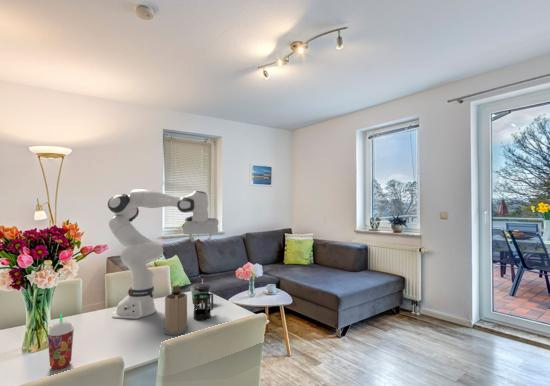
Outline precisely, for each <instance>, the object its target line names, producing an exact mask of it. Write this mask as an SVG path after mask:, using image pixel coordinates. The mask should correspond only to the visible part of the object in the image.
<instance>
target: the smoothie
mask: <svg viewBox="0 0 550 386" xmlns="http://www.w3.org/2000/svg"><path fill="white" fill-rule="evenodd" d="M59 315H60V316H59V317H60V318H59V320H58V321H56V322H54V323H53V324H52V326H50V328H49V330H48V332H47V342H48V343H47V344H48V356H49V358H48V359H49V366H50V367H51V369H52V370H61V368H62V369H64V368H67V367H69V365H70V362H71V361H72V355H73V343H74V342H73V341H74V340H73V339H74V329H75V328H74V326H73V325H72V323H71V322H70V321H69V320H65V319H63V313H60V314H59Z"/></svg>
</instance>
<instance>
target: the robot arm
mask: <svg viewBox="0 0 550 386" xmlns="http://www.w3.org/2000/svg"><path fill="white" fill-rule="evenodd" d="M107 207H108V209H109V211H110V212H112V213H113V214H114V216H113V217H112V218H110V220H109V221H108V227H109V229H110V231H111V233H112V234H113V236H115V238H116V239H117V241H118V242H119V243H120V244H121V245H122V246H123V247H124V248H123V249H122V251H121V252H120V260H121V262H122V263H123V265H125V266H126V267H127V268H128V270H129V271H130V275H131V287H129V289H128V291H127V294H128V295H126V296H125V297H124V298H123V299H121V300H120V301H119V302H118V304H117V306H116V310H114V311H113V312H112V313H111V318H113V319H132V320H133V319H140V318H143V317H147V316H151V315H152V314H154V313H156V312H157V309H156V305H155V300H154V296H155V286H154V273H153V271H152V270H151V269H148V267H147V263H149V262H153V261H156V260H158V259H160V258H161V257H162V256H163V253H164V247H163V246H162V244H161V243H160V242H157V241H154V240H152V239H150V238H148V237H146V236H145V235H143V234H142V233H140V231H139V230H138V229H137V228H136V227H135V226H134V225H133V223H132V222H133V220H135V219H136V218H137V217H138V216H139V213H140V210H139V207H140V208H147V209H158V208H166V207H175V208H177V209H178V211H180V212H181V213H184V214H185V213H192V215H190V216H188V217H185V219H184V221H185V222H184V224H183V225H182V226H183V228H182V233H183V234H184V235H189V238H190V241H191V242H192V243H194V242H195V238H193V235H206V234H207V235H209V237H208V238H206V239H207V242H211V237H212V236H213V235H214V234H218V233H219V227H218V225H219V220H218V219H217V218H215V217H209V210H208V209H209V195H208V194H207V192H205V191H200V190H194V191H193V192H192V193H190V194H188V195H186V196H183V197H179V196H172V195H169V194H165V193H162V192H160V191H156V190H153V189H152V190H151V189H145V188H137V189H133V190H131V191H130V193H129V194H126V193H123V194H117V195H114V196H111V197H110V198H109V199H108V201H107Z"/></svg>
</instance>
